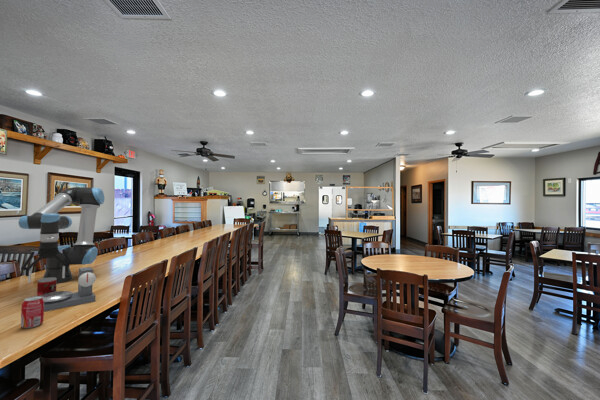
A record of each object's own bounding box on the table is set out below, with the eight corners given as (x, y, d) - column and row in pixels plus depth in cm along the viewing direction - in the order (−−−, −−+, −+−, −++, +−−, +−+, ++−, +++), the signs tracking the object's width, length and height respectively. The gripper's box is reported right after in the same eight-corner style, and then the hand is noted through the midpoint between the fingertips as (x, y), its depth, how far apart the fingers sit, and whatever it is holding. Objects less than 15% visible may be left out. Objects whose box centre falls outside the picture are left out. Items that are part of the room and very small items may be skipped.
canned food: (44, 302, 141) (45, 281, 141) (32, 300, 143) (33, 280, 143) (59, 297, 149) (60, 277, 149) (48, 296, 150) (49, 276, 150)
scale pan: (34, 298, 137) (34, 295, 137) (70, 292, 148) (70, 289, 148) (36, 306, 128) (36, 302, 128) (74, 299, 138) (74, 295, 138)
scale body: (31, 305, 137) (33, 272, 137) (90, 294, 155) (92, 265, 155) (33, 313, 127) (34, 278, 127) (95, 301, 145) (97, 270, 145)
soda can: (31, 322, 119) (32, 295, 119) (47, 321, 120) (49, 295, 120) (15, 329, 112) (16, 301, 112) (33, 329, 113) (34, 301, 113)
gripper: (16, 243, 134) (13, 285, 134) (79, 240, 153) (77, 277, 152) (16, 242, 140) (13, 282, 139) (77, 239, 158) (75, 274, 157)
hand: (46, 279), depth 146 cm, fingers open, 13 cm apart
